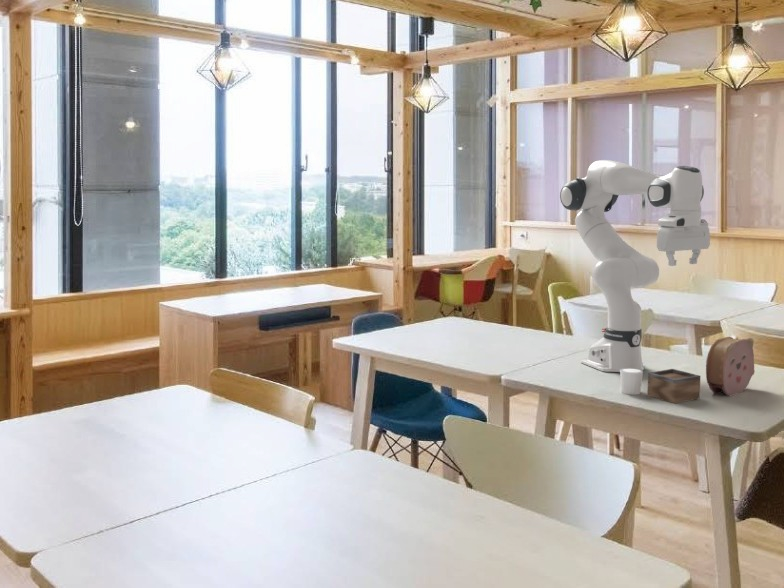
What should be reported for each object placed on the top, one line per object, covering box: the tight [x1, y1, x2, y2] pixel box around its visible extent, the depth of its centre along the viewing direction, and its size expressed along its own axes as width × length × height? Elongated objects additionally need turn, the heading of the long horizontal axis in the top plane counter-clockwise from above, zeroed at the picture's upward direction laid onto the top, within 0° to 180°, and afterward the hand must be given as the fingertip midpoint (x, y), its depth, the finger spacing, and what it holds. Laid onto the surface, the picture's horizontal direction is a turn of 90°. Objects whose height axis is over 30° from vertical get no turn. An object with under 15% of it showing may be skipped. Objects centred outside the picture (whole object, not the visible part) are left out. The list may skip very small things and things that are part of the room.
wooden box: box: [647, 368, 701, 404], centre depth 245 cm, size 11×11×7 cm
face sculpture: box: [705, 336, 755, 397], centre depth 251 cm, size 20×7×17 cm, turn 132°
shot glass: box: [619, 368, 644, 396], centre depth 251 cm, size 7×7×7 cm
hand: (682, 264), depth 249 cm, fingers open, 8 cm apart
